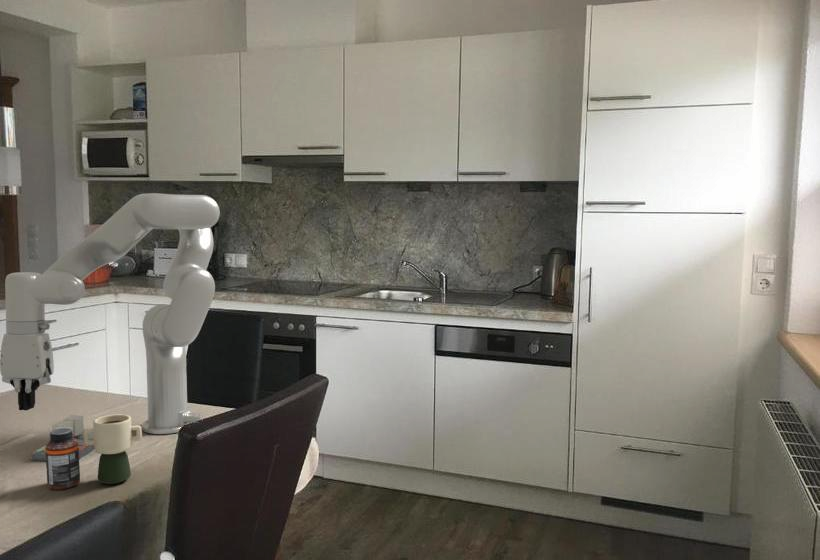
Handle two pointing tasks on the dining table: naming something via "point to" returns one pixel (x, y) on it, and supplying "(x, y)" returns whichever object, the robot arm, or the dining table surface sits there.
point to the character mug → (113, 446)
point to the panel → (83, 449)
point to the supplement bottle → (62, 460)
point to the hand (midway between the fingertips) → (26, 408)
